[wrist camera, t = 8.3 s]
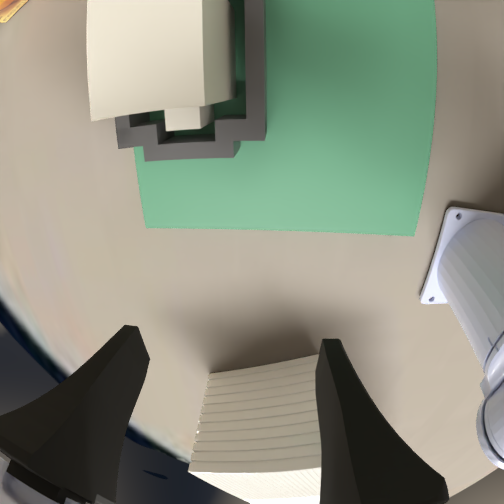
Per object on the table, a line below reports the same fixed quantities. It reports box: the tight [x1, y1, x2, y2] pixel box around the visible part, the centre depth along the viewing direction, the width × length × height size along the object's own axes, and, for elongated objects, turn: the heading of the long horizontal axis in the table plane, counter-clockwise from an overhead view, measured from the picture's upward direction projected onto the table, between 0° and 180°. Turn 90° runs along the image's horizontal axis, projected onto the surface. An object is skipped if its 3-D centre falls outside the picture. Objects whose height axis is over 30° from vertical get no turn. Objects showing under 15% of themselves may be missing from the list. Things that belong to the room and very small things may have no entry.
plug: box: [87, 0, 237, 131], centre depth 10 cm, size 4×8×7 cm, turn 1°
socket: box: [115, 0, 267, 162], centre depth 12 cm, size 7×9×2 cm
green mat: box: [134, 0, 437, 236], centre depth 13 cm, size 17×20×1 cm
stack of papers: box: [188, 354, 321, 504], centre depth 29 cm, size 32×11×11 cm, turn 22°
